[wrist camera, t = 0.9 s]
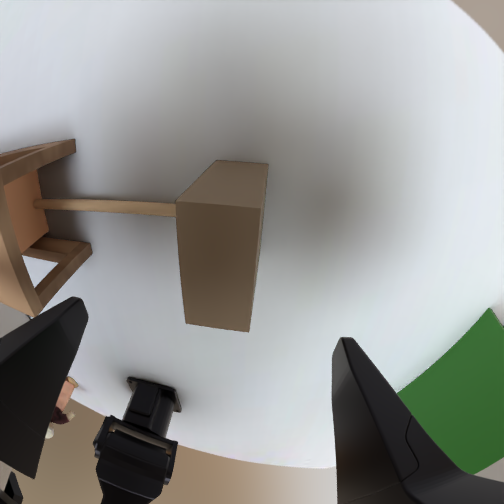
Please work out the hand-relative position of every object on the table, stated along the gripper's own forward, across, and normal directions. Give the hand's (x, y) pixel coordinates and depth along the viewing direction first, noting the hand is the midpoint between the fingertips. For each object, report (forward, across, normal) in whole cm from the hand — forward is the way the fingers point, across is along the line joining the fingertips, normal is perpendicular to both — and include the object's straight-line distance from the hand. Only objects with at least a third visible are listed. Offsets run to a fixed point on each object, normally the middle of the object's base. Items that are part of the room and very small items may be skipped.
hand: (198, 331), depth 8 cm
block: (+10, +11, 0) cm, 15 cm away
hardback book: (+10, -26, +16) cm, 32 cm away
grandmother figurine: (+10, +28, +32) cm, 44 cm away
